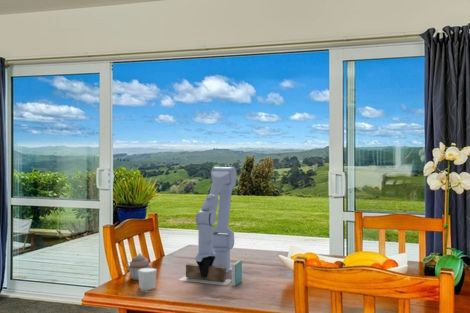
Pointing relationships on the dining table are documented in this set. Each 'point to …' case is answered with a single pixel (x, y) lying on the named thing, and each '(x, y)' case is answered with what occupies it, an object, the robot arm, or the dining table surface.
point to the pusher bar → (213, 274)
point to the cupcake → (138, 265)
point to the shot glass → (147, 278)
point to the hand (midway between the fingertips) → (205, 275)
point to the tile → (236, 273)
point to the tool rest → (206, 281)
